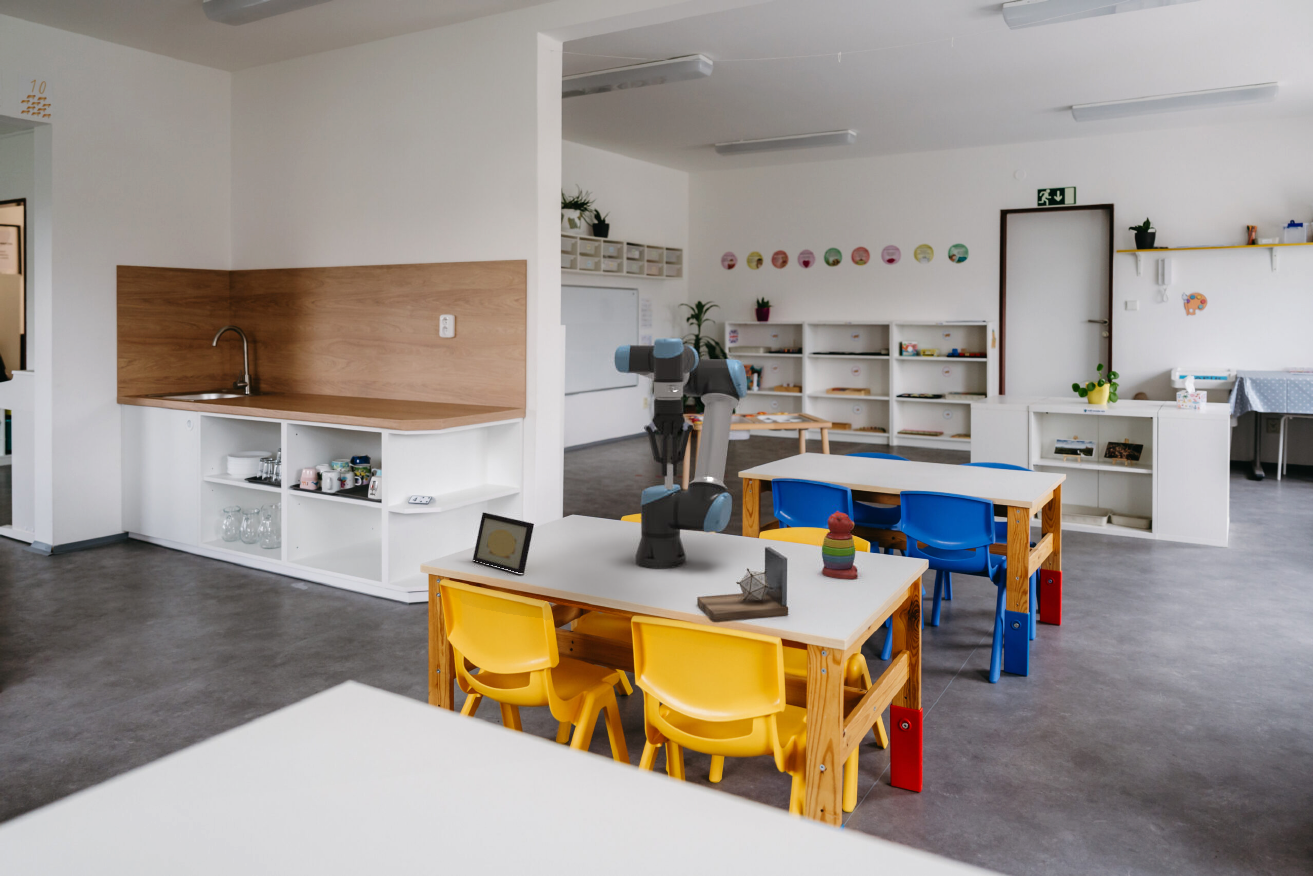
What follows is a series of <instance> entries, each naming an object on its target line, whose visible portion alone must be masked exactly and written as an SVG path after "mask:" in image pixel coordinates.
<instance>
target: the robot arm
mask: <svg viewBox="0 0 1313 876" xmlns="http://www.w3.org/2000/svg"><path fill="white" fill-rule="evenodd" d="M613 362H614V366H615V369H616V370H617V372H619V373H625V374H637V375H640V376H642V377H645V378H648V379H651V380H653V397H654V398H656V399H654V401H653V418H652V419H651V420H652V421H651V422H650V423H649V424H647V425H646V424H645V425H643V426H644V427H643V429H644V431H645V432H646V434H647V437H648V441H649V444H650V448H651V453H652V457H653V460H654V461H655V462H656V463H659V464H660V471H661V472H660V474H661V476H662V477H664V484H661V485H653V486H650V487H646V488H645V489H644V490H643V491H642V492H641V496H640V497H641V499H640V522H641V523H640V524H641V526H640V529H641V530H640V531H641V534H640V535H641V537H640V539H639V543H638V547H637V550H636V553H635V563H636V564H637V565H638V566H641V567H644V568H652V569H670V568H677V567H681V566H683V565H685V564H686V562H687V554H686V550H685V547H684V545H683V542H682V538H681V530H682V531H690V532H691V531H693V532H704V533H720V532H722V531H723V530H725V528H726V527H727V525H728V524H729V521H730V519H731V515H732V508H733V499H732V495H731V494H730V493H728V487H727V486H726V485H725V484H724V479H725V472H726V466H727V458H728V457H727V456H728V455H727V454H728V450H729V449H728V447H729V441H730V432H731V427H732V418H733V412H734V409H735V408H737V406H739V404H740V399H743V398H745V397H746V396H747V391H748V381H747V373H746V369H745V367H744V364H743V362H742V361H741V360H739V359H730V358H726V359H722V358H720V359H717V358H716V359H711V358H710V359H709V358H707V359H706V358H704V359H703V358H699V354H698V351H697V350H696V349H695V348H694V347H693V346H692V345H687V344H684V343H683V340H682V339H681V338H677V337H676V338H675V337H674V338H671V337H670V338H657V339H655V340H654V342H653V345H639V344H638V345H637V344H636V345H635V344H634V345H633V344H632V345H631V344H627V345H619V346H618V347H617V348H616V350H615V352H614V361H613ZM684 395H686V396H690V397H700V400H701V402H702V403H703V404H704V410H703V417H702V425H701V431H700V433H701V434H700V437H699V444H698V446H699V447H698V452H697V459H696V466H695V467H696V468H695V474H694V478H693V480H691V481H690V482H688V487H687V490H681V486H680V484H674V477H677V474H678V473H677V466H678V465H677V464H678V463H680V462H683V461H684V460H685V455H686V451H687V446H688V441H689V437H690V434H691V433H692V431H693V430H694V425H693V424H690V423H689V422H687V421H686V419H685V417H684V400H683V399H682V398H683V397H684ZM655 428H656V430H657V431H658V433H659V437H660V438H659V439H660V452H659V447H658V443H657V439H656V435H655V433H654V432H655ZM681 429H682V430H683V431H682V434H681V438H680V441H679V445H678V433H679V431H680V430H681ZM668 438H669V459H670V461H669V462H668ZM678 446H679V447H678Z"/></svg>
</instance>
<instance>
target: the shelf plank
mask: <svg viewBox="0 0 1313 876" xmlns="http://www.w3.org/2000/svg"><path fill="white" fill-rule="evenodd" d="M744 598H745V597H744V595H743V592H742V593H731V594H717V595H705V596H697V599H696V601H697V602H696V603H697V606H698V607H699V608H700V609H701V610H702V611H703V612H704V613H705V614H706V615H707V616H708V617H709V618H710V619H711V620H712V621H713V623H717V622H727V621H739V620H748V619H749V620H750V619H759V618H770V617H771V618H772V617H784V616H789V606H788V605H787V606H781V605H780V604H778V603H777V602H776V601H775V600H773V599H772V598H771V597H769V596H768V595H767V594H766V595H765V597H764V598H763V599H762V601H763V604H762V603H761V601H759V600H751V599H745V601H743V599H744Z"/></svg>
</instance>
